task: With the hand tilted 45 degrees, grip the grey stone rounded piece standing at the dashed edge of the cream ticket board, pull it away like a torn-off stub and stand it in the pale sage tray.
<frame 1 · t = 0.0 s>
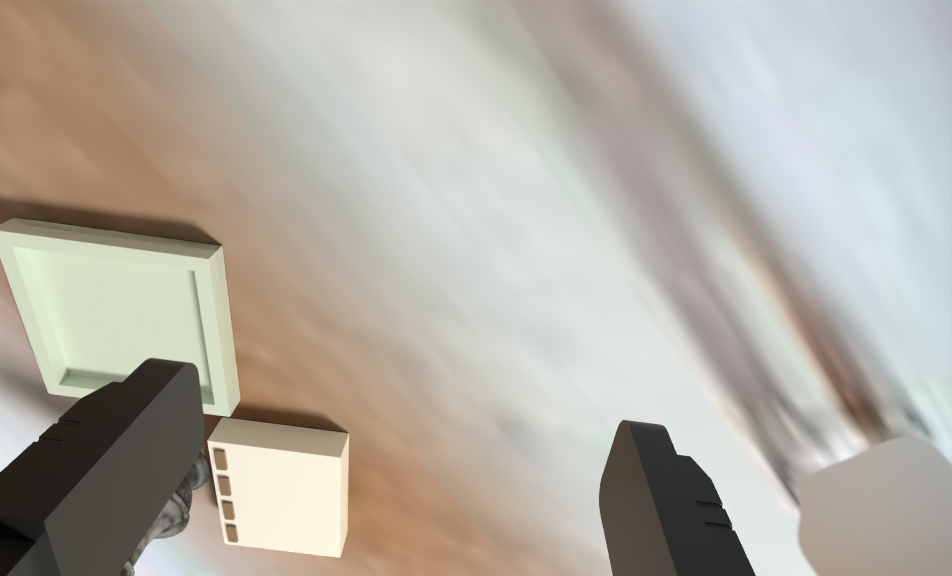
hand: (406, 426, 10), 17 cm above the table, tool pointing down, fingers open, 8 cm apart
ticket board: (289, 478, 37), on the table
grey stone rounded piece: (172, 461, 37), on the table
tray: (137, 316, 31), on the table
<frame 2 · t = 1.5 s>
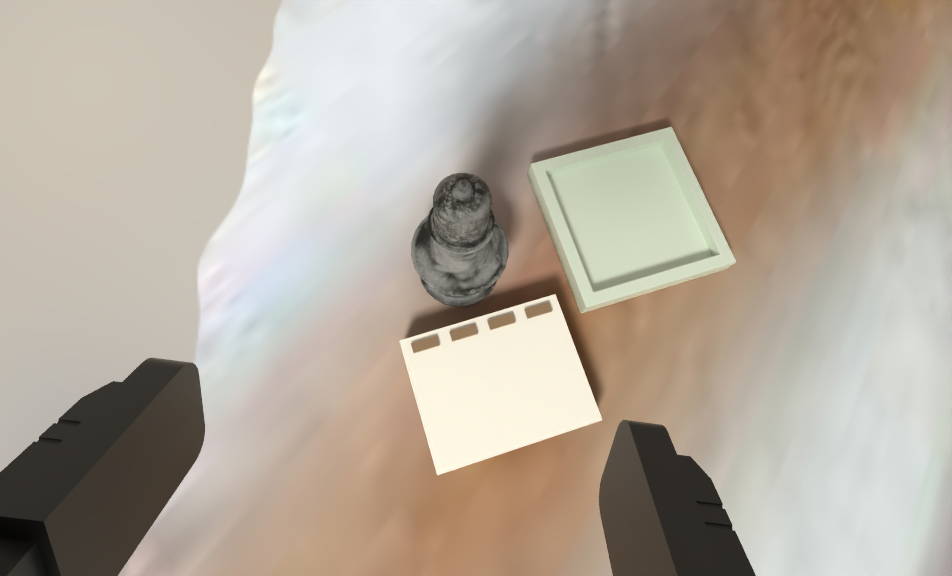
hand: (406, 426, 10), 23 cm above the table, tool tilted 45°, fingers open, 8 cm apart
ticket board: (496, 384, 34), on the table
grey stone rounded piece: (458, 269, 36), on the table
tray: (624, 221, 38), on the table
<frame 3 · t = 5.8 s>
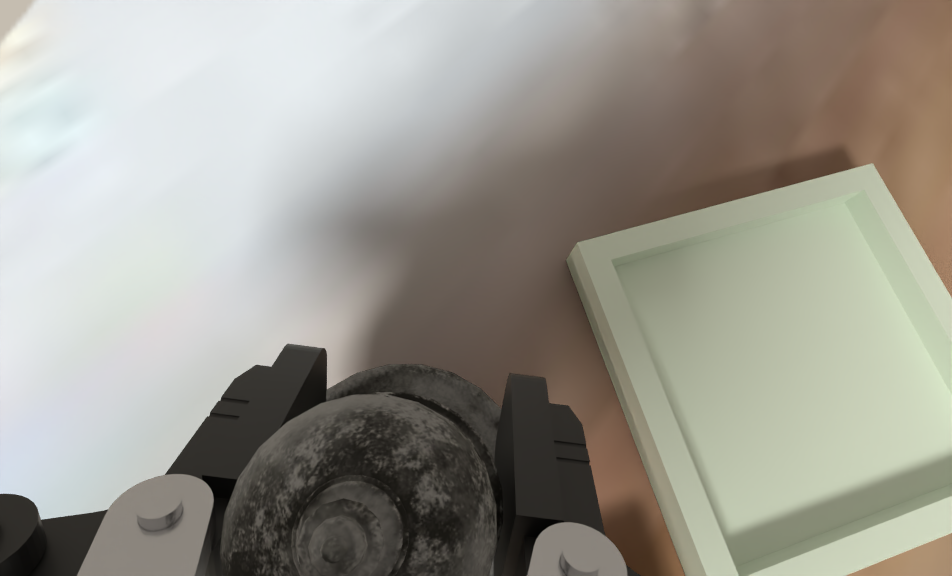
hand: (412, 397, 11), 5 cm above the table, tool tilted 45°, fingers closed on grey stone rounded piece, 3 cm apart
grey stone rounded piece: (409, 489, 16), on the table, touching gripper
tray: (778, 368, 17), on the table
when the fingers open (7 cm above the table, at t = 10.6 s): grey stone rounded piece drops 1 cm, resting on tray.
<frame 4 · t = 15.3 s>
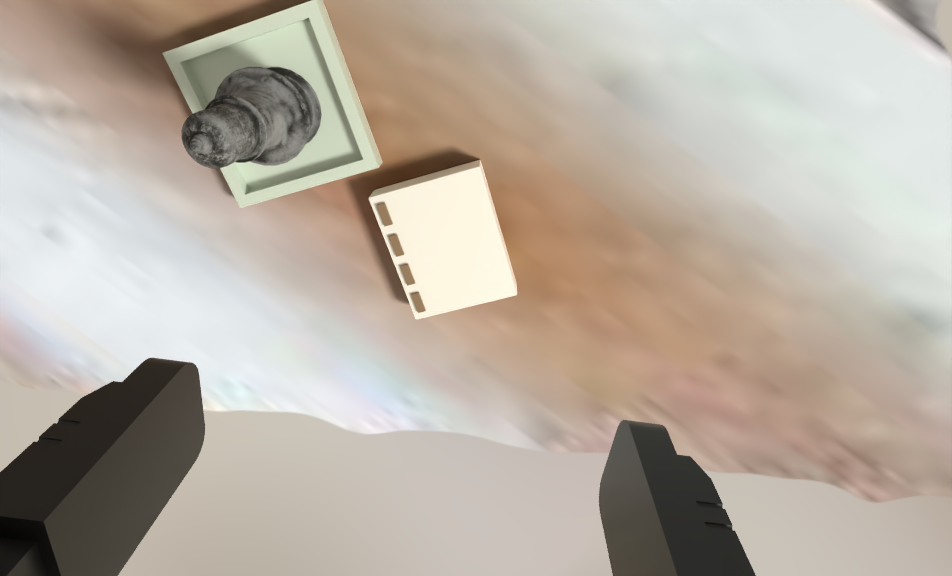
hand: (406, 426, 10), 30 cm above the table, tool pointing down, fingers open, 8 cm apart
ticket board: (447, 238, 41), on the table
grey stone rounded piece: (283, 109, 37), resting on tray
tray: (282, 109, 37), on the table
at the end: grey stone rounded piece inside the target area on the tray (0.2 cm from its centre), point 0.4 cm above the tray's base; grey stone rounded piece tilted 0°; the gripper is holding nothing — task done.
